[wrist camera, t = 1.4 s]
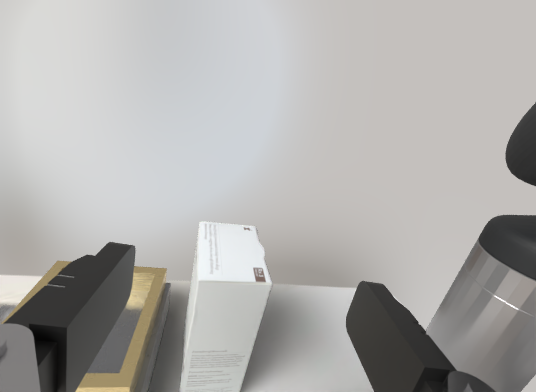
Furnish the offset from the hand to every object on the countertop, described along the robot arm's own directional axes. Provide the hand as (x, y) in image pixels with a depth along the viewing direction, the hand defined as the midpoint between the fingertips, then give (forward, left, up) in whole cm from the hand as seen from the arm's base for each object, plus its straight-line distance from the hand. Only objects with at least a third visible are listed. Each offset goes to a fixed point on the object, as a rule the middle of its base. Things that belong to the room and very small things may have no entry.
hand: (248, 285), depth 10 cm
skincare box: (0, -12, -22) cm, 25 cm away
